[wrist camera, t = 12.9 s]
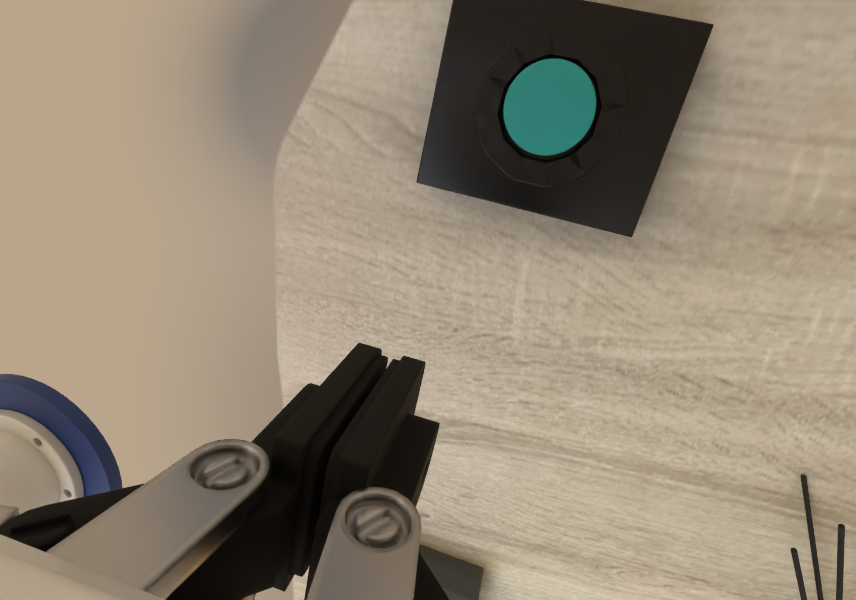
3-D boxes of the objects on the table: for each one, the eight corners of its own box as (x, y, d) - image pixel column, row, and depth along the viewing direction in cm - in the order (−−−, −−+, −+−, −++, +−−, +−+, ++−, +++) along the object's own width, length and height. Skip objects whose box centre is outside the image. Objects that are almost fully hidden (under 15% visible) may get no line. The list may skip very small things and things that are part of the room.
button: (496, 144, 23) (493, 144, 22) (519, 56, 22) (517, 49, 20) (576, 163, 23) (579, 164, 21) (605, 74, 21) (610, 68, 20)
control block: (425, 179, 28) (407, 185, 25) (464, -10, 25) (450, -37, 21) (625, 230, 27) (638, 244, 23) (699, 34, 23) (729, 13, 19)
